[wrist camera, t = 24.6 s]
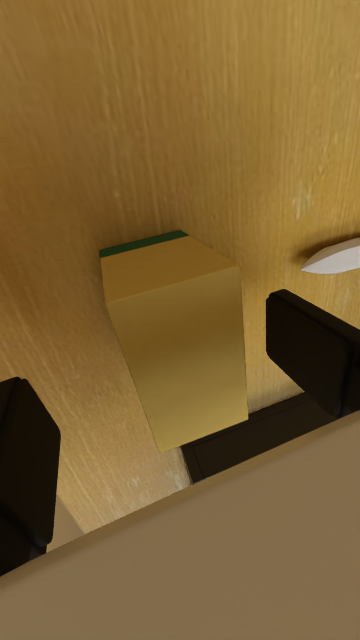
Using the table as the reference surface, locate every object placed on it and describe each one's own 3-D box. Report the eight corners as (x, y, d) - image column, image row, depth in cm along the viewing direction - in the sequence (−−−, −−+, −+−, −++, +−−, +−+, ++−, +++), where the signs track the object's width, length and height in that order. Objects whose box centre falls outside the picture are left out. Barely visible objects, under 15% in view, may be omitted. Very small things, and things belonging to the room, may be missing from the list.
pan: (209, 547, 31) (221, 584, 28) (178, 441, 20) (192, 484, 17) (310, 500, 33) (330, 530, 30) (330, 382, 22) (364, 412, 20)
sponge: (137, 364, 16) (159, 454, 11) (98, 249, 12) (104, 303, 7) (200, 344, 16) (249, 419, 11) (181, 229, 13) (240, 265, 8)
